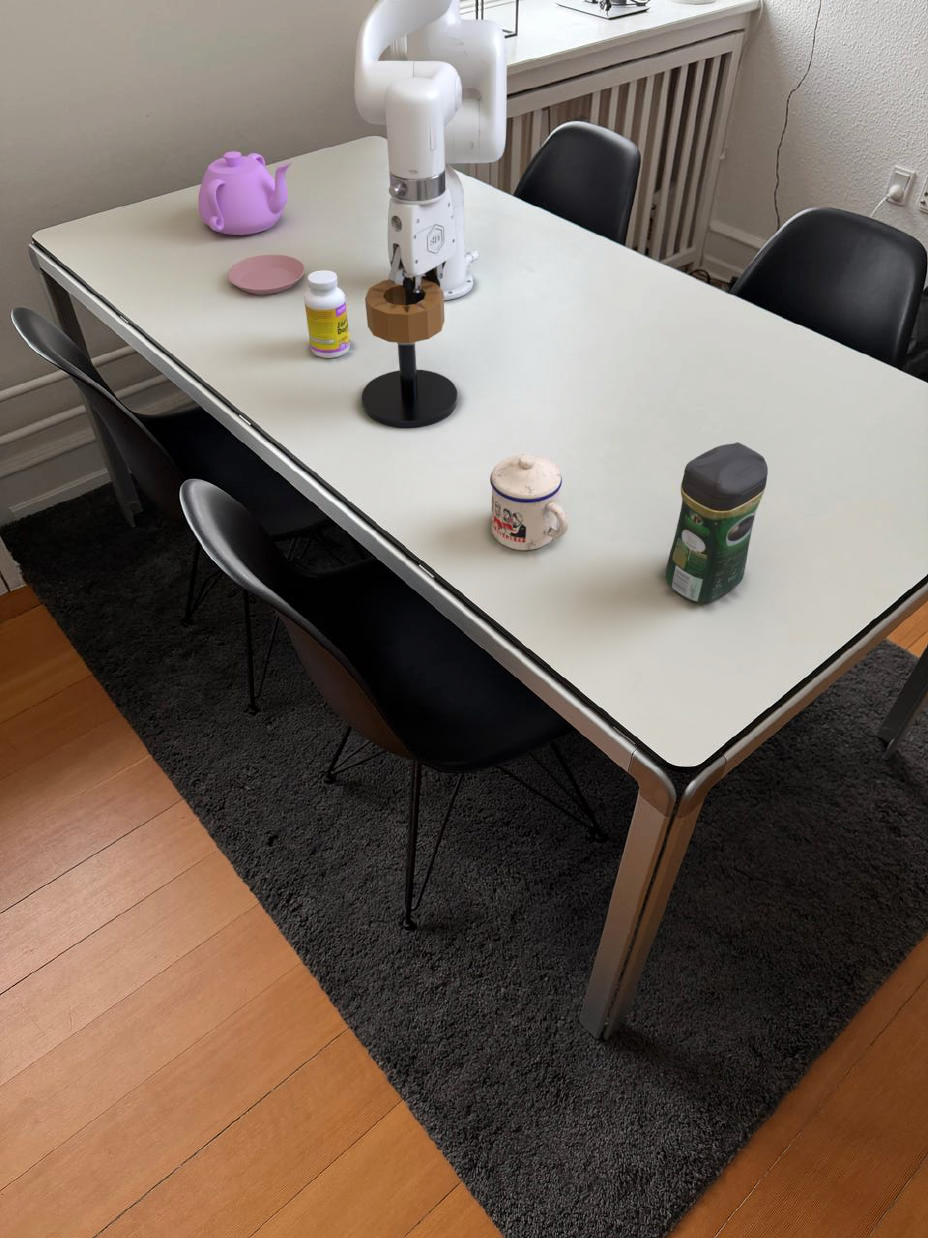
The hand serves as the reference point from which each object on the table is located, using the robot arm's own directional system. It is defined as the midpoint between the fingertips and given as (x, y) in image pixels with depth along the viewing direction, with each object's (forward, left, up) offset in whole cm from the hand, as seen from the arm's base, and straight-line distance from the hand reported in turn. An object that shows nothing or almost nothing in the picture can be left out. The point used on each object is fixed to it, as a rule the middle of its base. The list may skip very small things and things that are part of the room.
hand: (423, 308), depth 141 cm
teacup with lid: (+19, +34, -14) cm, 42 cm away
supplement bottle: (0, -21, -14) cm, 25 cm away
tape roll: (+4, 0, -1) cm, 4 cm away
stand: (+4, 0, -14) cm, 14 cm away
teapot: (-27, -69, -14) cm, 75 cm away
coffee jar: (+13, +56, -14) cm, 59 cm away
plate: (-11, -48, -14) cm, 51 cm away
